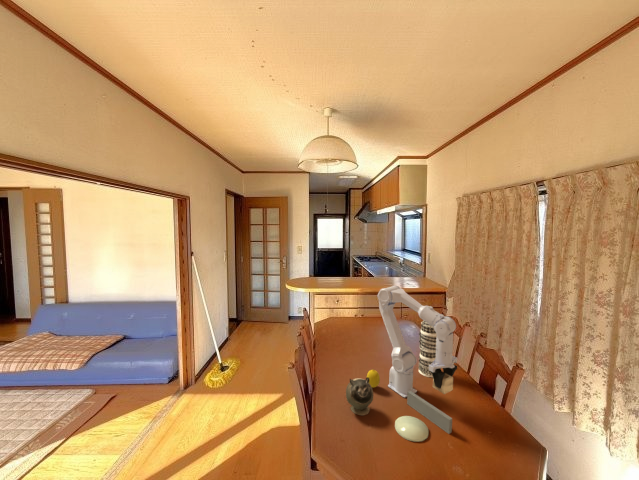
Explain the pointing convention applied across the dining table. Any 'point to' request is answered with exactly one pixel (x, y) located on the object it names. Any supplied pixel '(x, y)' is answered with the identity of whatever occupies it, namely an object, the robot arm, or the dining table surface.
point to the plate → (411, 428)
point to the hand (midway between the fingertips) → (442, 384)
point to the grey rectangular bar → (430, 412)
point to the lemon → (373, 378)
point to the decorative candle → (427, 348)
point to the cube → (445, 384)
